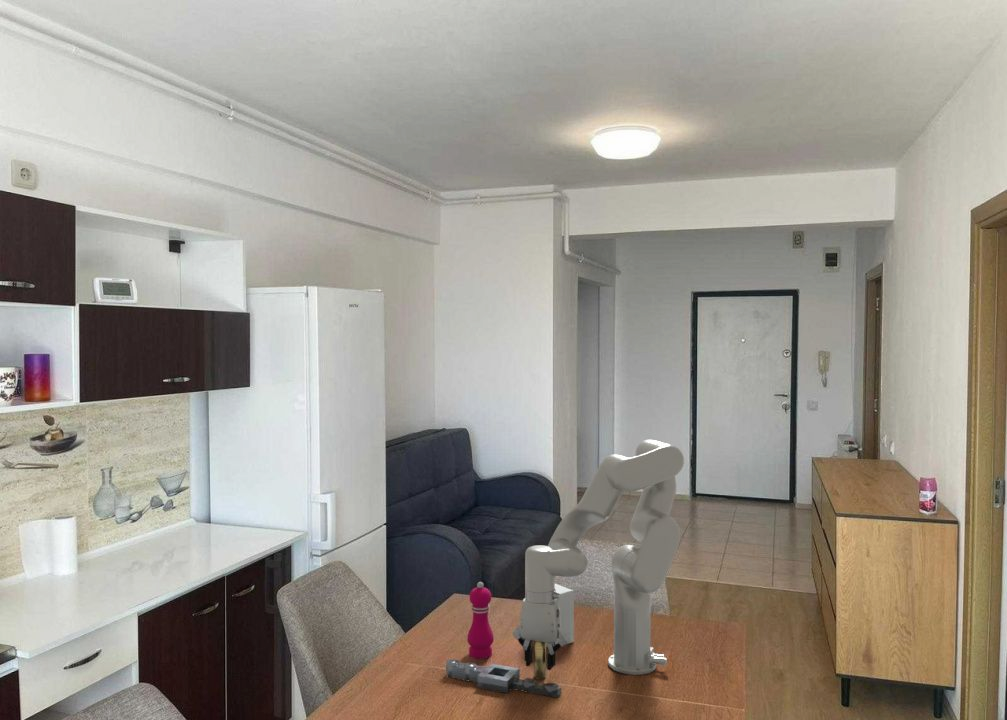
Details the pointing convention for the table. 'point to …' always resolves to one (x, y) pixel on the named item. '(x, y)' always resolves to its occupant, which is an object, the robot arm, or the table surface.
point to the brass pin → (539, 659)
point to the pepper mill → (480, 623)
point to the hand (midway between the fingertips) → (540, 665)
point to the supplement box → (566, 612)
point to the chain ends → (499, 678)
